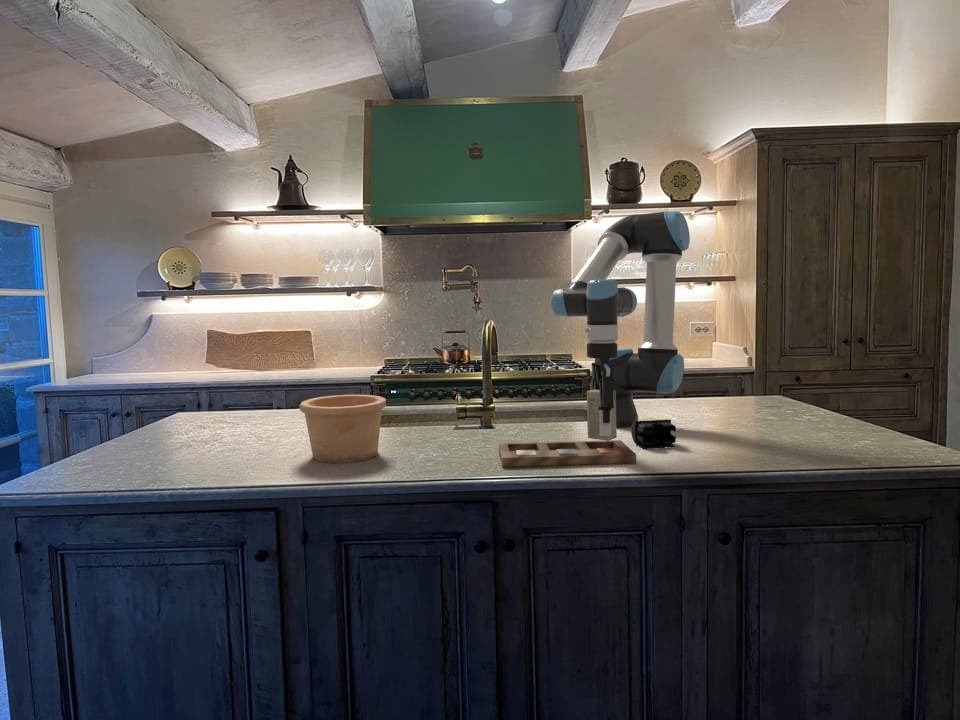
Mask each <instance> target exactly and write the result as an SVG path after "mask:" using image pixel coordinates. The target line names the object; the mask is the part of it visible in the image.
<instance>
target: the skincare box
mask: <svg viewBox="0 0 960 720" xmlns="http://www.w3.org/2000/svg"><path fill="white" fill-rule="evenodd" d="M613 402H614V408H612V410H611V436H600V410H598V408H599V407H601V402H600V390H592V389H590V390H587V391H586V413H587V414H586V416H587V417H586V418H587V419H586V420H587V423H586V424H587V439H592V440H598V441H610V440H615V439H617V438H618V437H617V435H618V434H617V427H616V391H613ZM606 404H608V403H606Z"/></svg>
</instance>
